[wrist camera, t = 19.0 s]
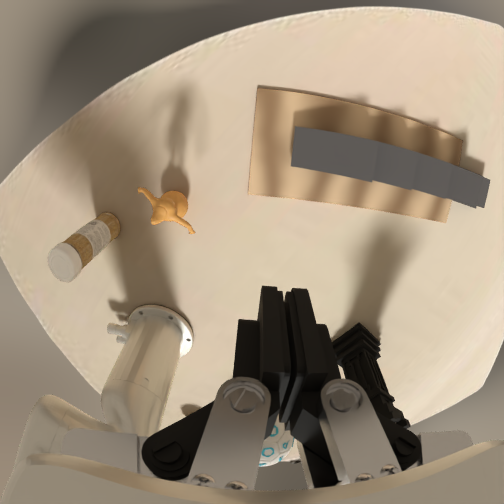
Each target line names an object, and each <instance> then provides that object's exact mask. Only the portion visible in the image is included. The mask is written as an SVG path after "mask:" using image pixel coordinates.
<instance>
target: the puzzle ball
mask: <svg viewBox="0 0 504 504" xmlns="http://www.w3.org/2000/svg"><path fill="white" fill-rule="evenodd" d="M293 442H294V437H293V436H291V435H290V431H285V426H284V423H279V414H278V417H277V419H276V422H275V425H274V428H273V431H272V433H271V435H270V436H269V437H268V438H266V439H265V440H264V442H263V447H262V453H261V458H260V463H259V466H269V465H273V464H275V463H277V462H279V461H281V460H282V459H283V458H284V457H285V456H287V455H288V453H289V452H290V450H291V447H293Z"/></svg>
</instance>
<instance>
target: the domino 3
mask: <svg viewBox="0 0 504 504" xmlns="http://www.w3.org/2000/svg"><path fill="white" fill-rule="evenodd" d="M452 166H453V164H451V163H448V162H445V161H442V160H439V159H436V158H433V157H430V156H427V155H424V154H421V153H418V158H417V164H416V170H415V175H414V180H413V185H412V189H414V190H417V191H421V192H424V193H428V194H431V195H434V196H437V197H441V198H444V199H446V196H447V191H448V187H449V182H450V177H451V172H452Z"/></svg>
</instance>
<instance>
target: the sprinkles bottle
mask: <svg viewBox="0 0 504 504" xmlns="http://www.w3.org/2000/svg"><path fill="white" fill-rule="evenodd" d="M119 233H120V224H119V221H118V219H117V218H116V217H115V216H114V215H113V214H111V213H108V212H106V213H102V214H100V215H99V216H98V217H97V218H96V219H94V220H92V221H90V222H89V223H88V224H86V225H85V226H83V227H82V228H80V229H79V230H78V231H76V232H75V233H74V234H72V235H71V236H70V237H69V238H68V239H67V240H65V241H64V242H62V243H59V244H58V245H56V246H55V247H54V248H53V249H52V250H51V251H50V252H49V254H48V265H49V268H50V270H51V272H52V273H53V275H54V276H55V277H56V278H57V279H59V280H60V281H62V282H71V281H72V280H74V279H75V278H76V277H77V276H78V275H79V273H80V272H81V270H82V269H83V268H84V266H86V265H87V264H88V263H89V262H90V261H91V260H92V259H93V258H94V257H95V256H96V255H98V254H99V253H100V252H101V251H102V250H103V249H104V248H105V247H106V246H107V245H108V244H109V243H110V242H111V241H112V240H113V239H115V238H116V237H117V236H118V235H119Z"/></svg>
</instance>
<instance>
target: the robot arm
mask: <svg viewBox="0 0 504 504" xmlns="http://www.w3.org/2000/svg"><path fill="white" fill-rule="evenodd" d="M107 331H108V333H111V334H116V335H122V336H117V339H116V340H117V342H118V343H123V344H125V345H124V347H123V349H122V351H121V353H120V355H119V357H118V359H117V361H116V363H115V365H114V367H113V369H112V371H111V373H110V375H109V377H108V379H107V381H106V383H105V385H104V388H103V390H102V393H101V407H102V411H103V414H104V418H105V420H106V423H107V424H105V423H103V422H101V421H98V420H97V419H95V418H93V417H91V416H89V415H88V414H86V413H84V412H82V411H81V410H79V409H77V408H76V407H74V406H73V405H71V404H69V403H68V402H66V401H64V400H63V399H61V398H59V397H57V396H54V395H44V396H42V397H41V398H40V399H39V400H38V401H37V402H36V404H35V405H34V407H33V409H32V411H31V413H30V415H29V418H28V421H27V424H26V426H25V429H24V433H23V436H22V439H21V442H20V446H19V449H18V453H17V457H16V461H15V464H14V469H13V473H12V475H11V476H10V478H9V480H8V482H7V484H6V487H5V489H4V492H3V494H2V497H1V500H0V504H504V440H490V441H485V442H482V443H479V444H475V445H473V443H472V440H471V437H470V436H469V435H468V433H466V432H464V431H459V430H458V431H446V432H430V433H420V434H419V435H415V434H414V433H412V432H411V431H409V430H407V429H405V428H404V427H402V426H400V425H398V424H397V423H395V422H393V421H392V420H390V419H388V418H386V417H385V416H383V415H381V414H380V413H378V412H376V411H375V410H374V408H373V406H372V404H371V402H370V400H369V398H368V396H367V394H366V392H365V391H364V389H363V388H362V387H361V386H360V385H359V384H358V383H356V382H354V381H352V380H348V379H341V376H340V372H339V368H338V364H337V360H336V357H335V353H334V349H333V346H332V342H331V338H330V335H329V331H328V328H327V326H326V325H325V324H316V320H315V316H314V312H313V308H312V304H311V300H310V297H309V293H308V290H307V289H300V288H292V290H291V292H286V295H285V300H283V292H282V291H277V287H272V286H262V288H261V296H260V304H259V312H258V319H257V321H256V320H243V319H239V320H238V330H237V340H236V350H235V360H234V370H233V378H232V379H230V380H227V381H226V382H225V383H223V384H222V385H221V387H220V388H219V390H218V392H217V395H216V398H215V400H214V401H213V402H211V403H209V404H208V405H206V406H204V407H203V408H201V409H199V410H197V411H196V412H194V413H192V414H190V415H189V416H187V417H185V418H183V419H181V420H179V421H178V422H176V423H174V424H172V425H170V426H168V427H166V428H164V429H162V430H160V426H161V422H162V418H163V414H164V411H165V407H166V403H167V400H168V396H169V393H170V389H171V386H172V382H173V379H174V375H175V372H176V368H177V365H178V361H179V358H180V357H181V356H184V355H185V354H187V353H188V352H189V351H190V350H191V347H192V345H193V332H192V329H191V327H190V326H189V324H188V323H187V322H186V320H185V319H183V318H182V317H181V316H180V315H179V314H177V313H176V312H174V311H172V310H170V309H168V308H165V307H163V306H158V305H143V306H140V307H138V308H136V309H135V310H134V311H133V312H132V313H131V315H130V317H129V319H128V325H126V324H125V325H124V326H120V325H118V324H113V323H109V324H108V327H107ZM278 414H279V423H284V426H285V431H290V435H291V436H293V437H294V438H295V439H297V447H298V451H299V455H300V458H301V462H302V466H303V470H304V474H305V478H306V481H307V485H308V489H302V490H282V491H255V490H254V487H255V482H256V477H257V473H258V468H259V463H260V458H261V453H262V447H263V442H264V440H265V439H266V438H268V437H269V436H270V435H271V433H272V431H273V428H274V425H275V422H276V419H277V417H278Z"/></svg>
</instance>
